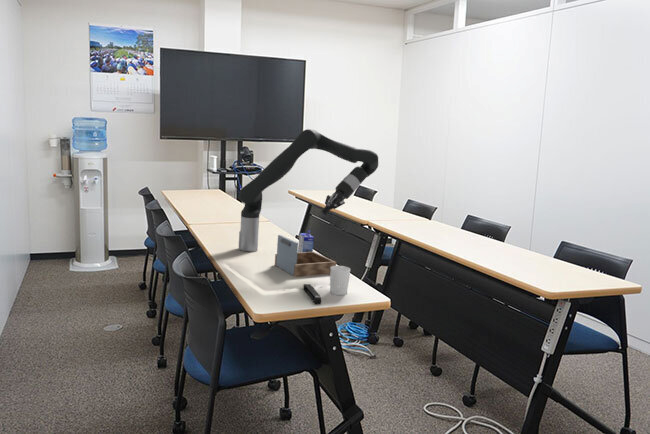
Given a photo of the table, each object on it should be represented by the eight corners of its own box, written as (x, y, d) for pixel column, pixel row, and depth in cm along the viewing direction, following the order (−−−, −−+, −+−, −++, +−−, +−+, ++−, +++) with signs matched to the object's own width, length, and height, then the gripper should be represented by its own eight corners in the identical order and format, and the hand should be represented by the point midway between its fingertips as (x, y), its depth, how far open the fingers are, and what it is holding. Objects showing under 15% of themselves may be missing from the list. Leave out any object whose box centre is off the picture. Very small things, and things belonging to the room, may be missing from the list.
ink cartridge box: (312, 261, 254) (314, 232, 251) (301, 261, 252) (303, 232, 250) (307, 256, 263) (309, 228, 261) (297, 256, 261) (299, 228, 259)
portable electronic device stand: (302, 290, 208) (303, 283, 208) (308, 290, 209) (309, 283, 208) (314, 305, 191) (315, 297, 191) (321, 305, 192) (322, 297, 191)
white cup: (347, 290, 211) (349, 266, 210) (349, 296, 204) (351, 271, 202) (328, 289, 211) (330, 265, 210) (328, 295, 203) (330, 270, 202)
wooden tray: (312, 265, 247) (313, 251, 246) (335, 276, 230) (336, 262, 229) (274, 268, 237) (275, 254, 236) (295, 280, 220) (295, 265, 219)
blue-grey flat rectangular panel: (278, 265, 236) (280, 234, 234) (296, 275, 222) (298, 243, 220) (274, 265, 235) (276, 235, 233) (291, 275, 221) (293, 243, 219)
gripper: (335, 178, 242) (310, 205, 237) (351, 182, 230) (325, 210, 226) (344, 190, 245) (320, 216, 241) (360, 194, 234) (335, 221, 230)
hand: (323, 213), depth 233 cm, fingers closed
